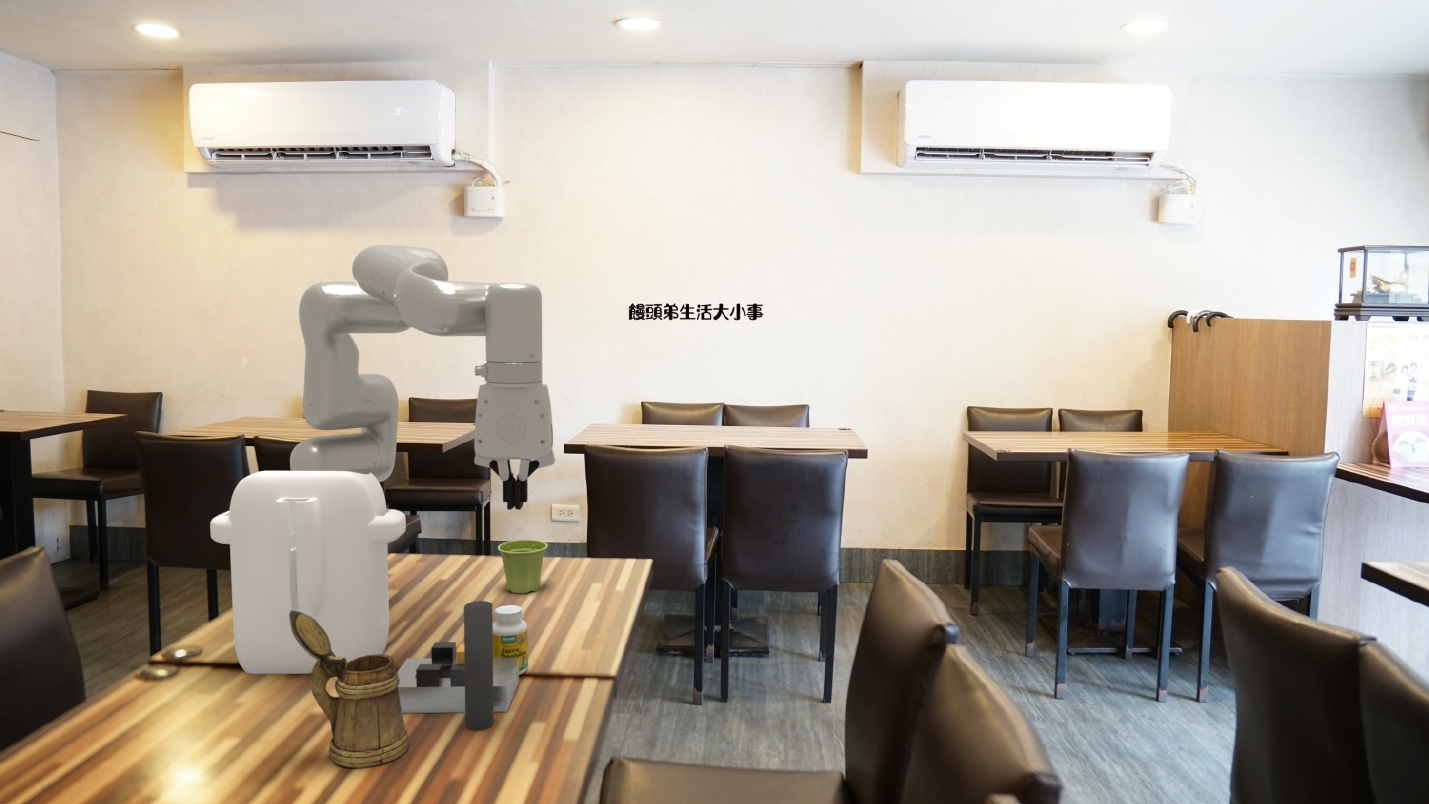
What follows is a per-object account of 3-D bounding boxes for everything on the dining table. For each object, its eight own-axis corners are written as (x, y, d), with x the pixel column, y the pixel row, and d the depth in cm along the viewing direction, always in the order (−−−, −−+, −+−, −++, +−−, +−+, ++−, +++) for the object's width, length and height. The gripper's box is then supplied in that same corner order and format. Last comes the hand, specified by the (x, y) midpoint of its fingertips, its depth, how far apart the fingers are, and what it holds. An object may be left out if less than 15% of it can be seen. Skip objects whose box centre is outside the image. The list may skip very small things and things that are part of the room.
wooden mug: (306, 736, 114) (301, 598, 112) (416, 732, 115) (413, 596, 113) (280, 772, 105) (275, 622, 103) (399, 767, 106) (396, 620, 105)
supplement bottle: (520, 661, 139) (519, 601, 138) (533, 673, 134) (532, 611, 133) (486, 668, 136) (485, 607, 135) (498, 680, 131) (497, 617, 130)
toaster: (198, 683, 129) (189, 478, 126) (235, 654, 140) (227, 464, 137) (392, 681, 131) (387, 478, 128) (412, 652, 142) (409, 465, 139)
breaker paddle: (456, 672, 124) (456, 651, 124) (461, 664, 127) (460, 643, 127) (478, 672, 124) (478, 651, 124) (482, 664, 127) (482, 643, 127)
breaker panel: (386, 713, 120) (385, 670, 120) (407, 682, 130) (406, 642, 130) (507, 711, 121) (506, 668, 121) (518, 681, 131) (518, 641, 131)
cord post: (462, 730, 116) (460, 610, 114) (468, 717, 119) (466, 601, 118) (490, 730, 116) (489, 610, 114) (495, 717, 120) (494, 601, 118)
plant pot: (542, 597, 170) (542, 552, 169) (492, 596, 170) (492, 551, 169) (551, 582, 179) (551, 540, 178) (505, 581, 179) (504, 539, 178)
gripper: (451, 376, 118) (453, 513, 119) (567, 377, 119) (567, 513, 120) (464, 372, 125) (465, 501, 127) (572, 373, 126) (572, 501, 128)
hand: (515, 507), depth 124 cm, fingers closed
